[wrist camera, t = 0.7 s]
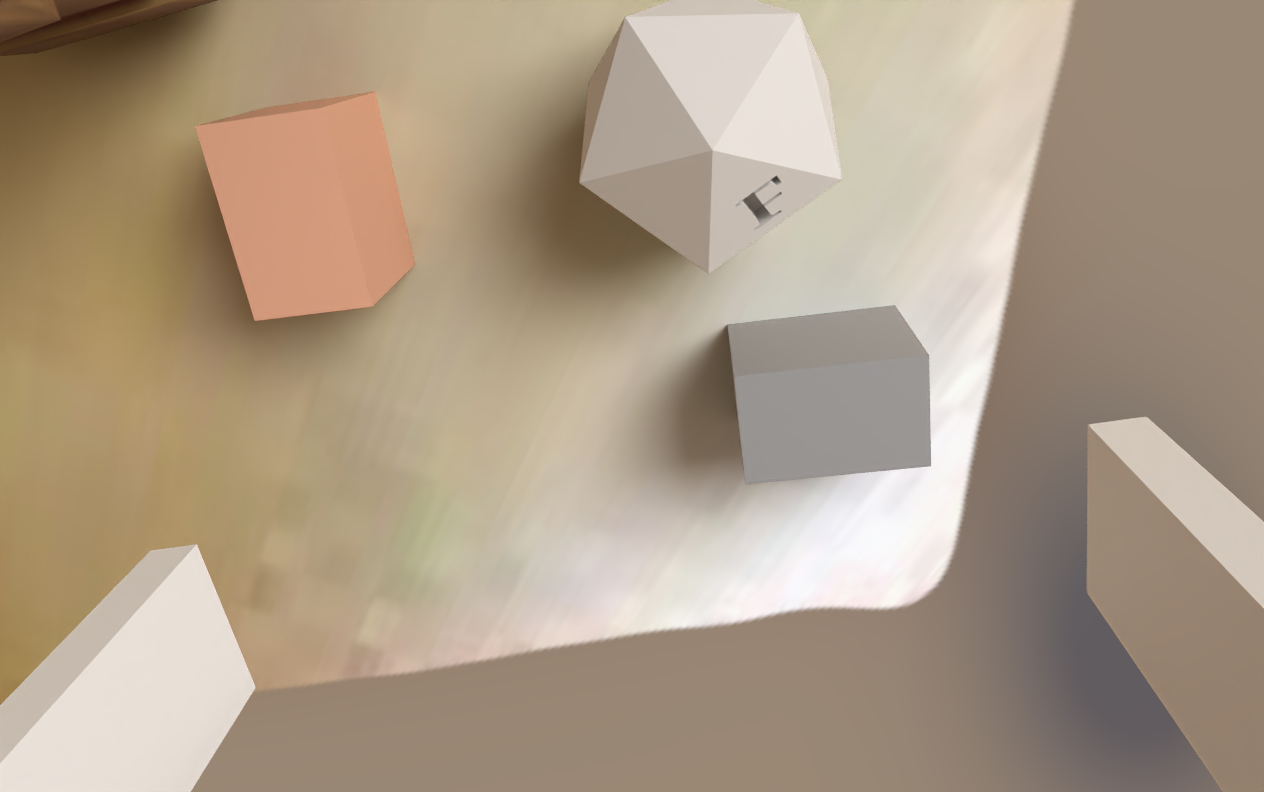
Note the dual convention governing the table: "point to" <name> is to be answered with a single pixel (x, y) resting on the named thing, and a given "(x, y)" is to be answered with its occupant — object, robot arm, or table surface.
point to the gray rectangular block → (830, 395)
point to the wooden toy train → (73, 20)
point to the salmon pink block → (309, 204)
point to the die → (709, 124)
